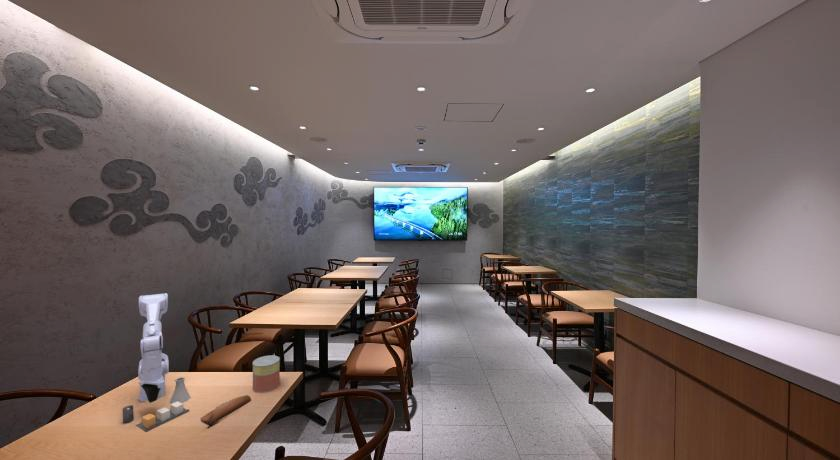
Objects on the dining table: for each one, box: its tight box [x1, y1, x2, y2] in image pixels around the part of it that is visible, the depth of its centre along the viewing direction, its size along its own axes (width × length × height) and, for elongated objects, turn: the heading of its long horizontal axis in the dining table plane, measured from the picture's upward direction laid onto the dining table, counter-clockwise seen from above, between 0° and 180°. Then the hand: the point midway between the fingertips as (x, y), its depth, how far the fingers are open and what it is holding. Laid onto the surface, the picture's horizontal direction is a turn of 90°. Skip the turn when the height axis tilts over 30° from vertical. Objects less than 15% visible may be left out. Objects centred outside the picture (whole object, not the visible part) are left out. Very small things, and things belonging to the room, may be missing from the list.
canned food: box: [252, 354, 281, 394], centre depth 146 cm, size 11×11×12 cm
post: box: [121, 404, 135, 424], centre depth 119 cm, size 4×4×6 cm
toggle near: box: [169, 401, 184, 415], centre depth 125 cm, size 4×2×3 cm, turn 63°
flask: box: [169, 376, 191, 404], centre depth 133 cm, size 7×7×10 cm
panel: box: [135, 407, 190, 433], centre depth 121 cm, size 8×14×2 cm, turn 153°
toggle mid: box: [156, 406, 170, 421], centre depth 121 cm, size 4×2×3 cm, turn 63°
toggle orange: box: [141, 413, 157, 428], centre depth 117 cm, size 4×2×3 cm, turn 63°
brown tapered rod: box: [200, 395, 252, 429], centre depth 126 cm, size 18×7×7 cm
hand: (152, 401), depth 124 cm, fingers closed
